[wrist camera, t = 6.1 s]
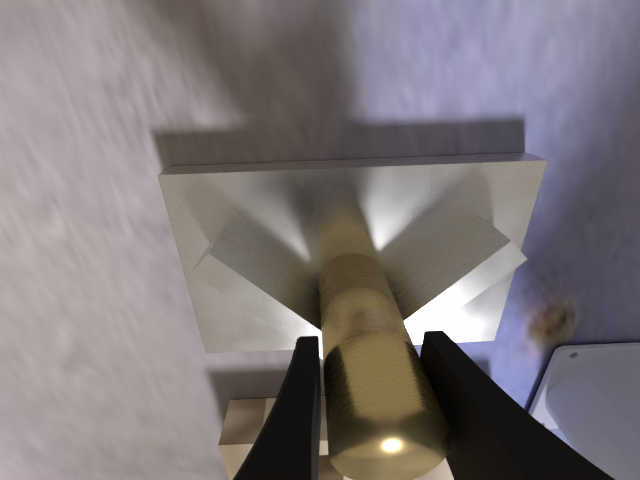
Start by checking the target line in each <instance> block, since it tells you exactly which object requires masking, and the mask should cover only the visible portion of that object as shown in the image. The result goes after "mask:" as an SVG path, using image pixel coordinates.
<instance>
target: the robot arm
mask: <svg viewBox="0 0 640 480" xmlns="http://www.w3.org/2000/svg"><path fill="white" fill-rule="evenodd" d="M420 361H421V363H422V365H423V368H424V370H425V372H426V375H427V377H428V380H429V382H430V384H431V387H432V389H433V391H434V394H435V396H436V399H437V401H438V403H439V406H440V408H441V410H442V413H443V415H444V417H445V420H446V422H447V425H448V427H449V429H450V432H451V436H452V444H451V448H450V450H449V453H448V454H447V456H446V460H447V463H448V465H449V468H450V470H451V473H452V475H453V478H454V480H640V342H638V343H615V344H592V345H569V346H560V347H558V348H557V349H556V350H555V351H554V353H553V356H552V358H551V360H550V363H549V365H548V367H547V370H546V372H545V374H544V377H543V379H542V381H541V384H540V386H539V388H538V391H537V393H536V396H535V398H534V400H533V403H532V405H531V407H530V410H529V412H527V411H526V410H524V409H523V408H522V407H521V406H520V405H519V404H518V403H516V402H515V401H514V400H513V399H512V398H511V397H510V396H509V395H508V394H507V393H505V392H504V391H503V390H502V389H501V388H500V387H499V386H498V385H497V384H496V383H495V382H494V381H493V380H492V379H491V378H490V377H489V376H488V375H486V374H485V373H484V372H483V371H482V370H481V369H480V368H479V367H478V366H477V365H476V364H475V363H474V362H473V361H472V360H471V359H470V358H469V357H468V356H467V355H466V354H465V353H464V352H463V351H462V349H461V348H460V347H459V346H458V345H457V344H456V343H455V342H454V341H453V340H452V339H451V338H450V337H449V336H448V335H447V334H446V333H445V332H444V331H443V330H438V331H424V335H423V342H422V348H421V354H420ZM557 428H559V429H560V430H561V432H562V433H563V435H564V436H565V438H566V439H567V440H568V442H569V443H570V445H571V446H572V447H573V449H572V448H571V447H570V446H569V445H567V444H566V443H565V442H563V441H562V440H561V439H560V438H558V437H557V436H556V435H555V434H553V433H552V432H551V431H549V430H548V429H557ZM320 430H321V382H320V359H319V338H318V336H300V337H299V338H298V339H297V341H296V346H295V350H294V353H293V357H292V360H291V363H290V366H289V369H288V371H287V374H286V377H285V379H284V382H283V384H282V386H281V389H280V391H279V394H278V396H277V398H276V401H275V403H274V405H273V407H272V409H271V411H270V413H269V415H268V417H267V419H266V422H265V424H264V426H263V428H262V429H261V431H260V433H259V435H258V437H257V439H256V441H255V443H254V444H253V446H252V448H251V450H250V452H249V453H248V455H247V457H246V459H245V460H244V462H243V464H242V465H241V467H240V469H239V470H238V472H237V474H236V475H235V477H234V478H233V480H318V469H319V450H320Z"/></svg>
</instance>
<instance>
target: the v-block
mask: <svg viewBox="0 0 640 480" xmlns="http://www.w3.org/2000/svg"><path fill="white" fill-rule="evenodd" d="M547 161H548V160H546V159H543V158H540V157H537V156H534V155H531V154H529V153H500V154H473V155H447V156H421V157H395V158H369V159H343V160H317V161H291V162H265V163H238V164H212V165H186V166H171V167H169V168H168V169H166V170H165V171H163V172H162V173H160V174H159V175H157V176H158V179H159V183H160V187H161V190H162V194H163V198H164V201H165V205H166V209H167V212H168V216H169V220H170V223H171V227H172V231H173V234H174V238H175V242H176V245H177V249H178V253H179V256H180V260H181V264H182V267H183V271H184V275H185V278H186V282H187V286H188V289H189V293H190V297H191V300H192V304H193V308H194V311H195V315H196V319H197V322H198V326H199V330H200V333H201V337H202V341H203V344H204V348H205V352H206V353H222V352H245V351H268V350H291V349H295V346H296V341H297V339H298V338H299V337H300V336H318V338H319V357H320V358H321V359H323V348H322V330H321V312H320V294H319V277H320V274H321V272H322V270H323V268H324V267H325V266H326V264H327V263H329V262H330V261H331V260H332V259H334V258H336V257H338V256H340V255H344V254H349V253H359V254H363V255H366V256H369V257H371V258H372V259H374V260H375V261H376V262H377V263H378V264H379V265H380V267H381V268H382V271H383V273H384V275H385V278H386V280H387V282H388V285H389V287H390V290H391V292H392V294H393V297H394V299H395V301H396V304H397V306H398V309H399V311H400V313H401V316H402V318H403V320H404V323H405V325H406V327H407V330H408V332H409V335H410V337H411V339H412V342H413V344H422V342H423V335H424V331H438V330H443V331H444V332H445V333H446V334H447V335H448V336H449V337H450V338H451V339H452V340H453V341H454V342H474V341H494V339H495V336H496V333H497V329H498V326H499V322H500V319H501V316H502V312H503V309H504V306H505V302H506V299H507V296H508V292H509V289H510V286H511V282H512V279H513V275H514V272H515V269H516V268H517V267H518V266H519V265H521V264H522V263H524V262H525V261H526V260H528V259H527V258H526V257H525V256H524V254H523V253H522V252H521V249H522V245H523V242H524V238H525V235H526V232H527V228H528V225H529V222H530V218H531V215H532V212H533V208H534V205H535V202H536V198H537V195H538V191H539V188H540V185H541V181H542V178H543V175H544V171H545V168H546V165H547Z"/></svg>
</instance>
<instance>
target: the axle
mask: <svg viewBox="0 0 640 480" xmlns="http://www.w3.org/2000/svg"><path fill="white" fill-rule="evenodd" d="M319 294H320V312H321V330H322V348H323V367H324V385H325V403H326V421H327V439H328V455H329V459H330V461H331V463H332V465H333V466H334V468H335V469H336V470H337V471H338V472H339V473H341V474H342V475H344V476H345V477H347V478H349V479H352V480H413V479H416V478H418V477H421V476H423V475H425V474H427V473H428V472H430V471H432V470H433V469H434V468H436V467H437V466H438V465H439V464H440V463H441V462H442V461H443V460H444V459H445V458H446V456H447V454H448V453H449V450H450V448H451V444H452V436H451V432H450V429H449V427H448V425H447V422H446V420H445V417H444V415H443V413H442V410H441V408H440V406H439V403H438V401H437V399H436V396H435V394H434V391H433V389H432V387H431V384H430V382H429V380H428V377H427V375H426V372H425V370H424V368H423V365H422V363H421V361H420V358H419V356H418V354H417V351H416V349H415V346H414V344H413V342H412V339H411V337H410V335H409V332H408V330H407V327H406V325H405V323H404V320H403V318H402V316H401V313H400V311H399V309H398V306H397V304H396V301H395V299H394V297H393V294H392V292H391V290H390V287H389V285H388V282H387V280H386V278H385V275H384V273H383V271H382V268H381V267H380V265H379V264H378V263H377V262H376V261H375V260H374V259H372V258H371V257H369V256H366V255H363V254H359V253H349V254H344V255H340V256H338V257H336V258H334V259H332V260H331V261H330V262H329V263H327V264H326V266H325V267H324V268H323V270H322V272H321V274H320V277H319Z"/></svg>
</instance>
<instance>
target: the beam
mask: <svg viewBox="0 0 640 480" xmlns="http://www.w3.org/2000/svg"><path fill="white" fill-rule="evenodd" d="M275 401H276V398H260V399H237V400H230V401H229V405H228V409H227V413H226V417H225V421H224V425H223V429H222V433H221V437H220V441H219V445H218V446H219V449H220V452H221V456H222V459H223V462H224V466H225V469H226V472H227V475H228V479H229V480H233V478H234V477H235V475H236V474H237V472H238V470H239V469H240V467H241V465H242V464H243V462H244V460H245V459H246V457H247V455H248V453H249V452H250V450H251V448H252V446H253V444H254V443H255V441H256V439H257V437H258V435H259V433H260V431H261V429H262V428H263V426H264V424H265V422H266V419H267V417H268V415H269V413H270V411H271V409H272V407H273V405H274V403H275ZM318 480H352V479H349V478H347V477H345V476H344V475H342V474H341V473H339V472H338V471H337V470H336V469H335V468H334V466H333V465H332V463H331V461H330V459H329V455H328V439H327V421H326V403H325V396H321V430H320V450H319V469H318ZM413 480H454V478H453V475H452V473H451V470H450V468H449V465H448V463H447V460H446V458H445V459H444V460H443V461H442V462H441V463H440V464H439V465H438V466H437V467H436V468H434V469H433V470H432V471H430V472H428V473H427V474H425V475H423V476H421V477H418V478H416V479H413Z"/></svg>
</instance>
